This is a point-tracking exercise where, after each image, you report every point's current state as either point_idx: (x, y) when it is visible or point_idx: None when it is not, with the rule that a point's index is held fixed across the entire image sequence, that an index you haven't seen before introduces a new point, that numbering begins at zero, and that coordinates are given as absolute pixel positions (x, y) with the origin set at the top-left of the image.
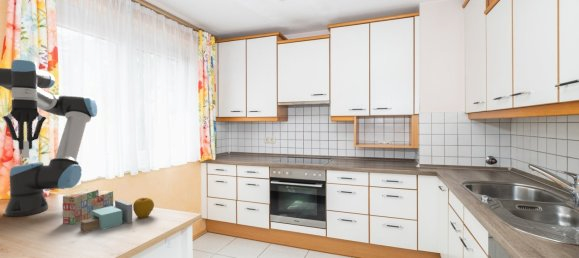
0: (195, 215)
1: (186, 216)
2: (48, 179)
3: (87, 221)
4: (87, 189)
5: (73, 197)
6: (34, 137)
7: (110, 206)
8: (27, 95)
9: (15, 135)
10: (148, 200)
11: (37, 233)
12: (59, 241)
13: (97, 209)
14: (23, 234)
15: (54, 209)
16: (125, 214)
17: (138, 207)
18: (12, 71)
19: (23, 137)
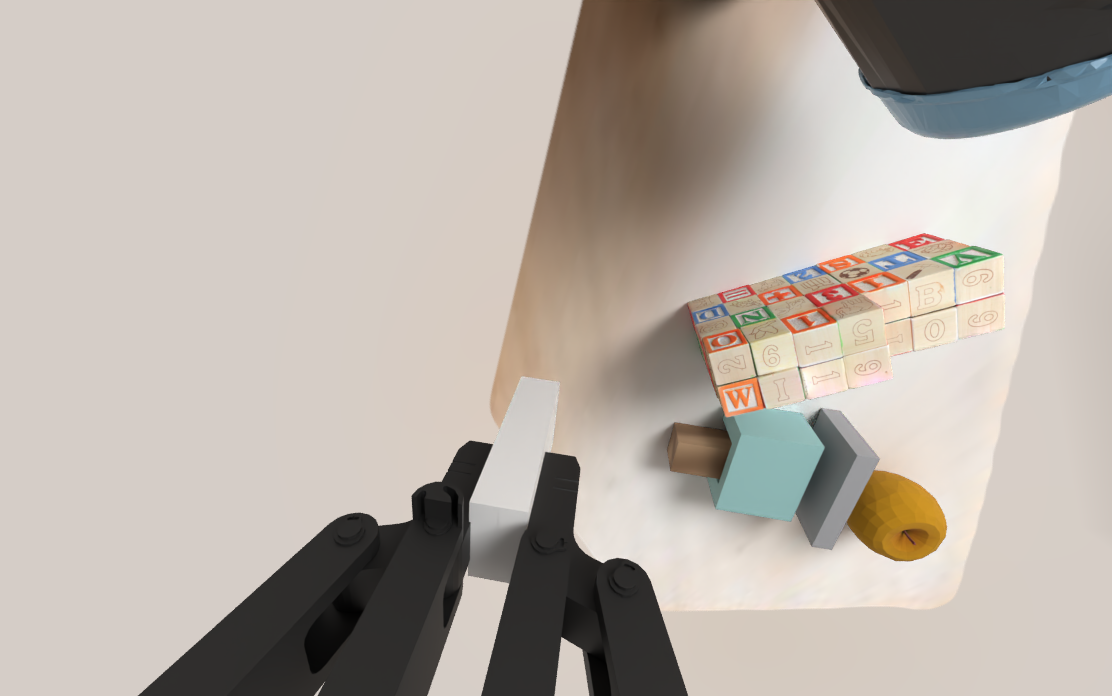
0: (938, 606)
1: (918, 590)
2: (837, 15)
3: (685, 464)
4: (875, 321)
5: (722, 407)
6: (583, 655)
7: (816, 449)
8: None
9: (329, 655)
10: (905, 560)
11: (587, 335)
12: (592, 453)
13: (761, 442)
14: (558, 305)
15: None
16: (801, 501)
17: (853, 531)
18: None
19: (444, 632)
